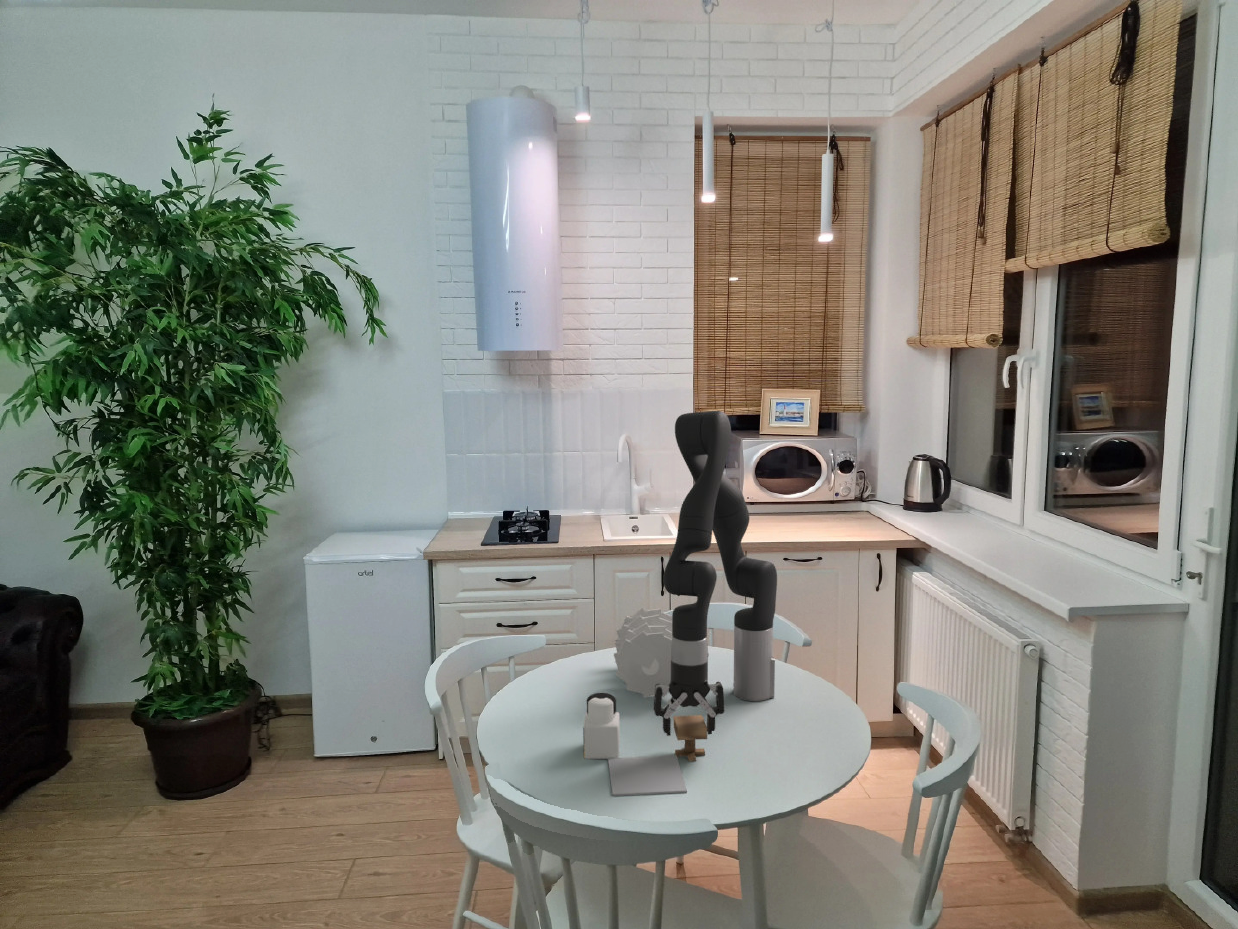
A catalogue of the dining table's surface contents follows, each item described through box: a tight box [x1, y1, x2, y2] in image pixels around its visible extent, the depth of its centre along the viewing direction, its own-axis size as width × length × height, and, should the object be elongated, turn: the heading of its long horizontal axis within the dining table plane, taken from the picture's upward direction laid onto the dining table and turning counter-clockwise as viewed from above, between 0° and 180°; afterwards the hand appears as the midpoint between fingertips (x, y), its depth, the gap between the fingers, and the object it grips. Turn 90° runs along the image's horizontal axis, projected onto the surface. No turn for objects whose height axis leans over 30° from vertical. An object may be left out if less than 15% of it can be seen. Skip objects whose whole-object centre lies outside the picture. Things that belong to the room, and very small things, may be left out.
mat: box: [607, 754, 688, 797], centre depth 163 cm, size 14×14×1 cm
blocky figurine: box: [582, 692, 621, 760], centre depth 173 cm, size 7×7×12 cm
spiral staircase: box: [613, 607, 672, 699], centre depth 208 cm, size 18×18×25 cm
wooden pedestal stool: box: [673, 714, 708, 762], centre depth 172 cm, size 6×6×7 cm
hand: (688, 733), depth 171 cm, fingers open, 8 cm apart
